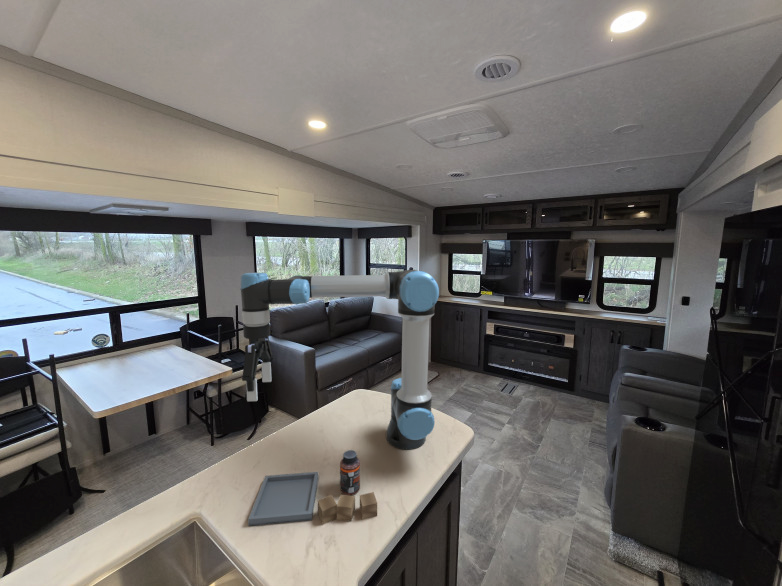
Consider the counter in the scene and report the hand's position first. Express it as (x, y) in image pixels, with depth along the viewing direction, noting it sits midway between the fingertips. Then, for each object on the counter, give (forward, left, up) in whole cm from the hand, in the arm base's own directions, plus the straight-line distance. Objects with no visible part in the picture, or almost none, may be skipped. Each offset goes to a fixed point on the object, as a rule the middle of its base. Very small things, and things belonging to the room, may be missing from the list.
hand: (260, 390), depth 97 cm
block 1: (-22, +20, -28) cm, 40 cm away
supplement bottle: (-28, +11, -28) cm, 41 cm away
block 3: (-33, +20, -28) cm, 47 cm away
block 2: (-27, +20, -28) cm, 43 cm away
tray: (-10, +13, -28) cm, 32 cm away
